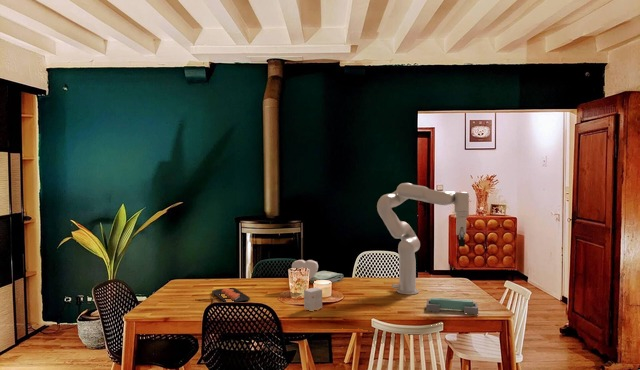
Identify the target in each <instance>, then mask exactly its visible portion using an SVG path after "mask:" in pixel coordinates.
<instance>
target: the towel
mask: <svg viewBox="0 0 640 370" xmlns="http://www.w3.org/2000/svg"><path fill="white" fill-rule="evenodd" d="M344 278H345V277H344V274H343V273H337V272H333V271H329V270H328V271H327V270H321V271H317V272H316V274H315V275H314V276H313V277H312V278H311V279H310V282H309V283H311V284H314V283H313V282H314V281H316V280H330V281H331V282H332V283H331V284H333V283H337V282H341V281H342V280H343V279H344Z"/></svg>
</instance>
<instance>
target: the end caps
mask: <svg viewBox="0 0 640 370" xmlns="http://www.w3.org/2000/svg"><path fill="white" fill-rule="evenodd" d="M425 307H426V308H425V309H426V310H425V311H426V312H427V311H432V312H431V313H440V304H430V299H426V306H425ZM463 313H467V314H466V315H469V314H478V315H479V306H478V303H477V302H473V307H472V306H464V310H463Z"/></svg>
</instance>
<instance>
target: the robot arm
mask: <svg viewBox="0 0 640 370" xmlns="http://www.w3.org/2000/svg"><path fill="white" fill-rule="evenodd" d="M469 198H470V195H469V192H467V191H452V190H446V191H443V190H441V191H440V190H436V189H432V188H431V189H430V188H429V187H427V186H424V185H418V184H413V183H410V182H402V183H400V184H399V185H398V186H397V187H396V190H394V191H393V192H391V193H386V194H383V195H381V196H380V198H379V199H378V201H377V203H376V204H377V205H376V208H377V209H376V210H377V213H378V215H379V216H380V218H381V219H382V221H383V223H384V226H386V228H387V231H389V233H390V235H391V236H392V237H393V239H400V240H401V241H399V243H398V246H397V247H398V248H397V251H398V263H399V264H398V266H399V269H398V270H399V271H398V272H399V275H398V276H399V282H398V283H397V284H395V283H391V288H393V289H396V292H397V293H398V294H401V295H409V296H410V295H416V294H418V293H419V289H418V288H417V287H416V286H417V285H416V284H417V281H416V279H417V274H416V273H417V271H416V270H417V269H416V267H417V266H416V264H417V263H416V254H415V253H416V252H418V251H419V250H420V247H421V241H420V240H419V238H418V236H417V235H416V232H415V230H413V228H412V227H411V226H410V224H409V223H407V222H406V221H402V220H400V219H399V217H398V216H397V214H396V213H395V212H394V211H393V208H396V207H398V206H400V205H401V204H403V203H404V202H405V201H407V200H409V199H410V200H415V201H421V202H424V203H429V204H433V205H439V206H449V205H454V217H455V218H456V219H455V221H456V223H455V227H456V228H455V235H456V236H458V237H457V239H458V240H457V244H458V247H461V248H462V247H463V248H465V246H466V237H465V236H466V234H467V218H469V215H470V199H469Z"/></svg>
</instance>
